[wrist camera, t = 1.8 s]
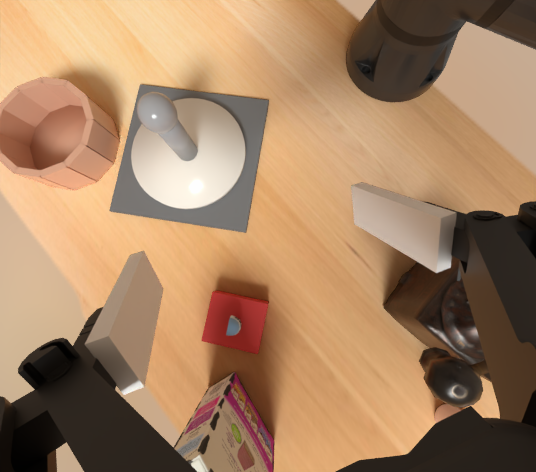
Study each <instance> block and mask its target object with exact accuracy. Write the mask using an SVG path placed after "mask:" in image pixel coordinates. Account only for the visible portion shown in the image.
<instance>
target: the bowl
mask: <svg viewBox="0 0 536 472" xmlns="http://www.w3.org/2000/svg"><path fill="white" fill-rule="evenodd" d="M119 140H120V139H119V136H118V133H117V130H116V127H115V123H114V120H113V119H112V118H111V117H110V116H109V115H108V114H107V113H106V112H104V111H103V110H102V109H101V108H100V107H99V106H98V105H97V104H95V103H94V102H93V101H92V100H91V99H90V98H89V97H88V96H87V95H85V94H84V93H83V92H82V91H80V90H79V89H78V88H77V87H76V86H74V85H73V84H72V83H71V82H69V81H67V80H64V79H56V78H48V77H40V78H38V79H35V80H32V81H30V82H27V83H24V84H22V85H19V86H17V87H15V88H14V90H13V91H12V92H11V93H10V94H9V95H8V96H7V97H6V98H5V99H4V100H3V101H2V102H1V103H0V161H1V162H2V163H3V164H4V165H5V166H6V167H7V168H8V169H9V170H11V171H12V172H13V173H14V174H17V175H20V176H23V177H26V178H28V179H31V180H34V181H37V182H40V183H42V184H45V185H48V186H51V187H55V188H62V189H68V190H77V189H80V188H82V187H85V186H88V185H90V184H93V183H95V182H97V181H99V180H100V178H101V177H102V176H103V175H104V174H105V173H106V172H107V171H108V170H109V168H110V167H111V166H112V165H113V164H114V163H112V162H115V158H116V154H117V150H118V146H119V142H120V141H119Z"/></svg>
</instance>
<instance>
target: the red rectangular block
mask: <svg viewBox="0 0 536 472" xmlns="http://www.w3.org/2000/svg"><path fill="white" fill-rule="evenodd" d="M268 303H269V302H268V301H263V300H259V299H254V298H250V297H245V296H241V295H236V294H231V293H227V292H222V291H218V290H217V291H214V292H213V293H212V297H211V301H210V306H209V310H208V314H207V319H206V323H205V327H204V332H203V336H202V341H204V342H208V343H212V344H217V345H221V346H225V347H229V348H234V349H238V350H242V351H246V352H251V353H255V354H258V351H259V347H260V342H261V337H262V332H263V328H264V323H265V318H266V313H267V308H268Z"/></svg>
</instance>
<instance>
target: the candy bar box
mask: <svg viewBox="0 0 536 472" xmlns="http://www.w3.org/2000/svg"><path fill="white" fill-rule="evenodd" d="M174 449H175V450H176V451H177V452H178V453H179V454H180V455H181V456H182V457H183V458H184V459H185V460H186V461H187V462H188V463H189V464H190V465H191V466H192V467H193V468H194V469H195V470H196V471H197V472H273V469H274V440H273V438H272V436H271V435H270V433H269V431H268V430H267V428H266V426H265V424H264V423H263V421H262V419H261V417H260V416H259V414H258V412H257V410H256V409H255V407H254V405H253V403H252V402H251V400H250V398H249V396H248V394H247V393H246V391H245V389H244V387H243V386H242V384H241V382H240V380H239V378H238V377H237V375H236V373H235V372H234V373H232V374H230V375H229V376H227V377H226V378H224V379H223V380H221V381H219V382H218V383H216V384H214V385H213V386H211V387H210V388H208V389H207V391H206V393H205V394H204V396H203V398H202V400H201V401H200V403H199V405H198V407H197V408H196V410H195V412H194V414H193V415H192V417H191V419H190V420H189V422H188V424H187V426H186V428H185V429H184V431H183V432H182V434H181V436H180V438H179V440H178V441H177V443H176V445H175V446H174Z"/></svg>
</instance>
